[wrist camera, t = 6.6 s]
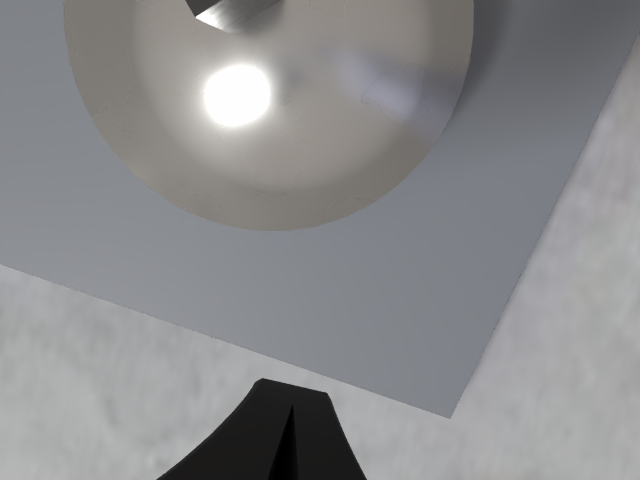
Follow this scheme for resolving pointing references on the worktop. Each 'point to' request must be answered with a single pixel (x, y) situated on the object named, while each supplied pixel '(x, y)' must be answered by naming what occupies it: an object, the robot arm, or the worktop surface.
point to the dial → (270, 98)
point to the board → (331, 238)
